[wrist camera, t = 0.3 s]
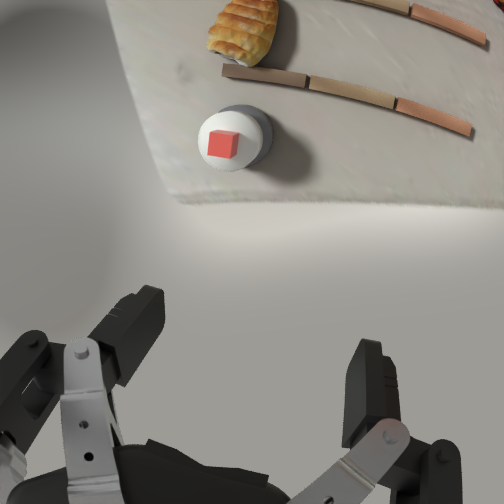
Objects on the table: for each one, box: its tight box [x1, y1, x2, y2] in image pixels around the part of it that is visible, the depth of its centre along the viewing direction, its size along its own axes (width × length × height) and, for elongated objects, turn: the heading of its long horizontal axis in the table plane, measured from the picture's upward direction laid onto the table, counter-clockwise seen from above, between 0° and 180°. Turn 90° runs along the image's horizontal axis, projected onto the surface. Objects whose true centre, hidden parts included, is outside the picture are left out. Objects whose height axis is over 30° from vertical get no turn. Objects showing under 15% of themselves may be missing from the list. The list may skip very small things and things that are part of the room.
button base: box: [218, 105, 273, 167], centre depth 34 cm, size 7×7×2 cm
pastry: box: [206, 0, 279, 67], centre depth 27 cm, size 9×7×4 cm
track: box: [222, 0, 486, 136], centre depth 27 cm, size 13×28×1 cm, turn 82°
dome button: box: [198, 110, 263, 172], centre depth 30 cm, size 6×6×5 cm
